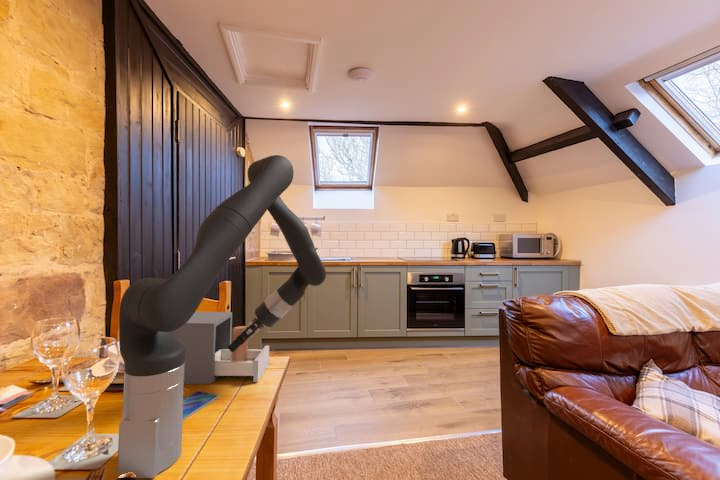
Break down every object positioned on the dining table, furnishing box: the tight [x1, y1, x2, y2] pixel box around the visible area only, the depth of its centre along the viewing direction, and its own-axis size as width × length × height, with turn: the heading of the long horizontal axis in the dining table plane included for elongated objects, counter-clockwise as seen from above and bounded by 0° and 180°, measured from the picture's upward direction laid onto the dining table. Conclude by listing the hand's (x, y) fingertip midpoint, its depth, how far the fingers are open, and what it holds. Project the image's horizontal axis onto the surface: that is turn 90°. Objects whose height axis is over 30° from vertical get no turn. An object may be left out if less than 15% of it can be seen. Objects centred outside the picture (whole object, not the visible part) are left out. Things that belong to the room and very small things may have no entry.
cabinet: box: [173, 311, 233, 385], centre depth 92 cm, size 16×14×17 cm
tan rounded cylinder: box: [231, 325, 249, 362], centre depth 93 cm, size 5×5×10 cm
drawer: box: [214, 344, 270, 383], centre depth 93 cm, size 16×13×6 cm
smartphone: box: [183, 391, 219, 421], centre depth 72 cm, size 7×1×15 cm
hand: (233, 346), depth 93 cm, fingers closed on tan rounded cylinder, 4 cm apart
